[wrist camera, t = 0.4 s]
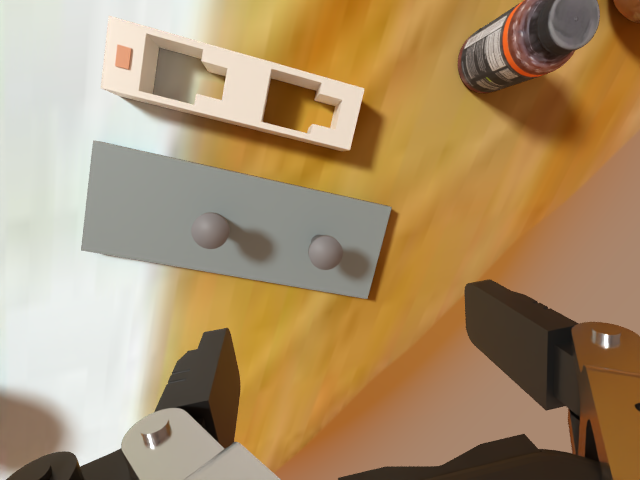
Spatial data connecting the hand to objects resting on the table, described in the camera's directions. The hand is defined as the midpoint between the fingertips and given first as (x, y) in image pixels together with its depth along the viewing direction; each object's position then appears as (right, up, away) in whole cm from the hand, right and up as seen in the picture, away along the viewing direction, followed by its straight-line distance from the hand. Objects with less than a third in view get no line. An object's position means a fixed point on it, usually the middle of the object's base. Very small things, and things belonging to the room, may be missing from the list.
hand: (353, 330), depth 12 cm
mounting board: (-9, +4, +24) cm, 26 cm away
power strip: (-9, +17, +21) cm, 28 cm away
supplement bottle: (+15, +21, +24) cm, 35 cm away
